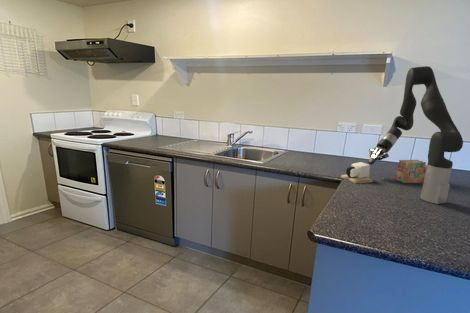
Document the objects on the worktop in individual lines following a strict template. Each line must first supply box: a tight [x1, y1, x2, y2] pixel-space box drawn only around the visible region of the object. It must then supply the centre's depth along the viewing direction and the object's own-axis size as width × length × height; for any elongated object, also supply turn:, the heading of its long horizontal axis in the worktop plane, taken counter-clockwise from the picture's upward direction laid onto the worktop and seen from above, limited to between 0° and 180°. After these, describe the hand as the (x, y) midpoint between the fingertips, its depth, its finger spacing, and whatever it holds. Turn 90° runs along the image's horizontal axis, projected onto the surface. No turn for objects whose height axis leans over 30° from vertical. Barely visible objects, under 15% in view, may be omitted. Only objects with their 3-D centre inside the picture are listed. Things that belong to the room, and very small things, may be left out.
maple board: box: [340, 174, 374, 184], centre depth 158 cm, size 12×12×1 cm
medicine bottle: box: [345, 161, 371, 178], centre depth 158 cm, size 7×7×12 cm
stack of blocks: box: [395, 159, 427, 184], centre depth 159 cm, size 21×6×12 cm, turn 99°
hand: (369, 163), depth 162 cm, fingers closed
